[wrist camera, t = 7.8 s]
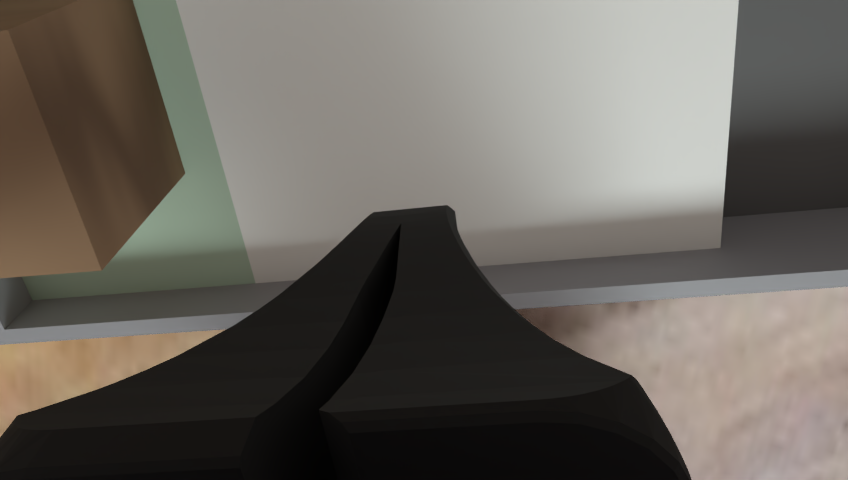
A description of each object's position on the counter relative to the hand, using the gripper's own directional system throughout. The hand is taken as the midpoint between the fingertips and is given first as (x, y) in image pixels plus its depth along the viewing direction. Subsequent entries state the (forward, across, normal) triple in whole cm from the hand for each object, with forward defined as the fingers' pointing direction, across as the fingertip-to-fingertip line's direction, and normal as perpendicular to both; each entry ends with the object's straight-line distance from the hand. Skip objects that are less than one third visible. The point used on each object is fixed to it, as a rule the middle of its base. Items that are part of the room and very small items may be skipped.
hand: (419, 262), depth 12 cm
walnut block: (+7, +10, -2) cm, 12 cm away
